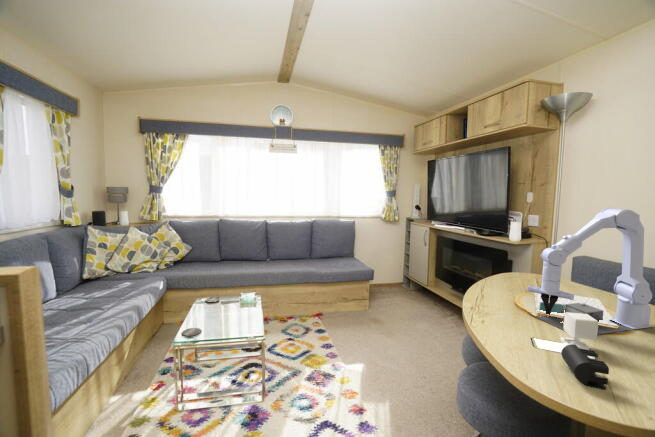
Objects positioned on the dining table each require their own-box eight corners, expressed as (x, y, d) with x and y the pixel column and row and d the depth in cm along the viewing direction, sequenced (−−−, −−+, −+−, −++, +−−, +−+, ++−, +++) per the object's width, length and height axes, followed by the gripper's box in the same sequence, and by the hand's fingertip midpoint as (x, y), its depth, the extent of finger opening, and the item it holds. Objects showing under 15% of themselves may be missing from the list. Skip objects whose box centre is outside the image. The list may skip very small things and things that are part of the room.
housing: (580, 314, 122) (581, 301, 121) (605, 325, 113) (607, 310, 112) (563, 316, 120) (565, 302, 119) (588, 327, 111) (590, 312, 111)
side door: (564, 316, 120) (565, 304, 119) (539, 314, 122) (540, 302, 121) (562, 314, 121) (563, 303, 121) (537, 312, 124) (538, 301, 123)
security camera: (595, 352, 95) (598, 321, 94) (569, 349, 96) (572, 319, 95) (583, 342, 101) (586, 313, 100) (559, 339, 103) (561, 311, 101)
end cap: (559, 364, 89) (562, 342, 88) (590, 369, 86) (592, 346, 85) (573, 385, 79) (575, 360, 79) (607, 391, 77) (610, 366, 76)
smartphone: (533, 349, 98) (598, 362, 90) (533, 347, 97) (598, 360, 90) (529, 338, 104) (589, 349, 97) (530, 336, 104) (589, 347, 97)
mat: (574, 308, 129) (574, 307, 129) (631, 330, 110) (631, 329, 109) (527, 313, 123) (527, 312, 123) (578, 337, 104) (578, 336, 104)
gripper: (575, 280, 116) (572, 315, 117) (530, 273, 125) (527, 305, 127) (574, 285, 111) (571, 321, 112) (527, 277, 120) (525, 310, 121)
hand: (548, 313), depth 119 cm, fingers closed
